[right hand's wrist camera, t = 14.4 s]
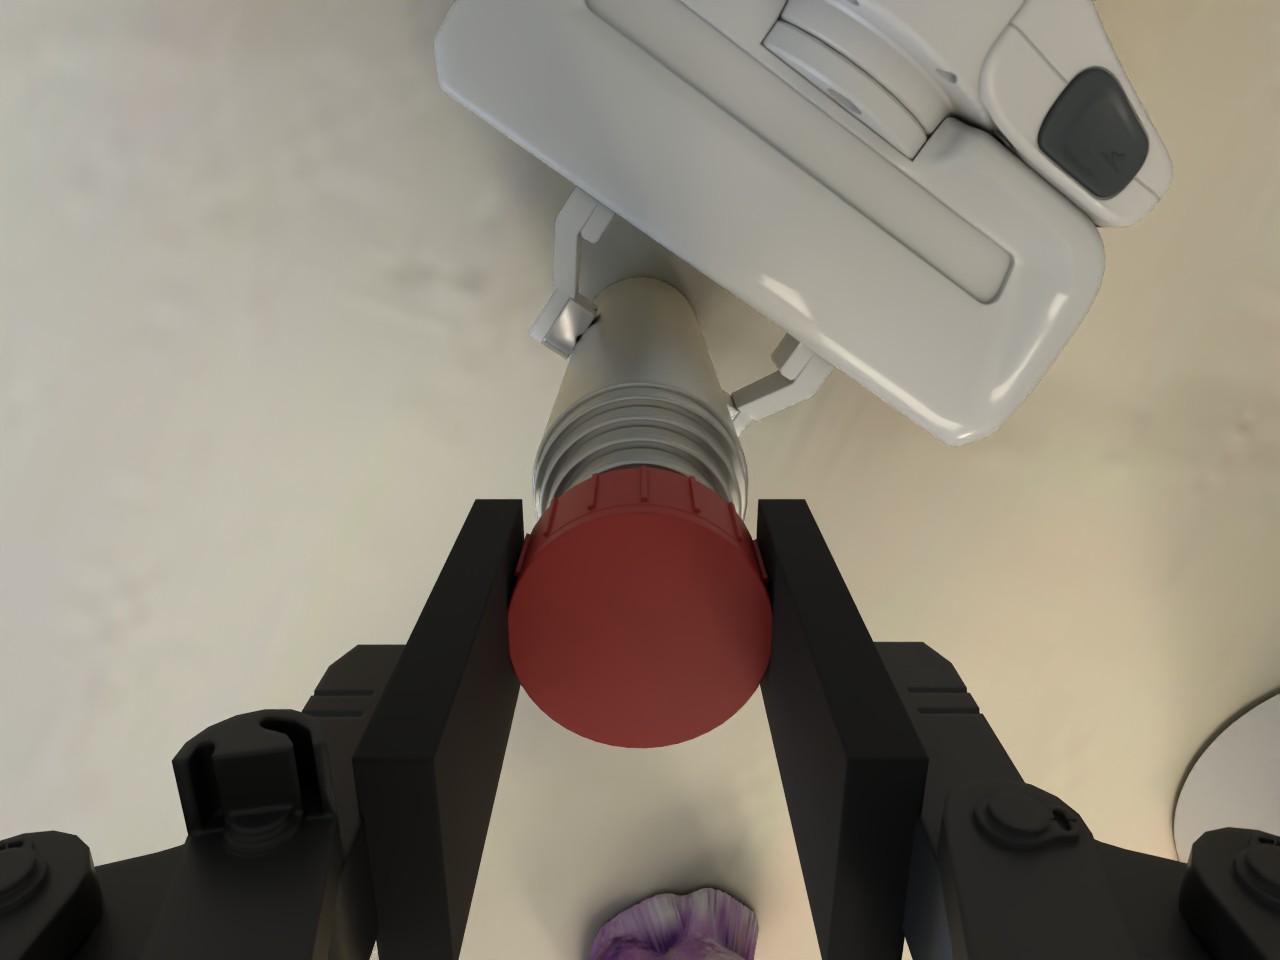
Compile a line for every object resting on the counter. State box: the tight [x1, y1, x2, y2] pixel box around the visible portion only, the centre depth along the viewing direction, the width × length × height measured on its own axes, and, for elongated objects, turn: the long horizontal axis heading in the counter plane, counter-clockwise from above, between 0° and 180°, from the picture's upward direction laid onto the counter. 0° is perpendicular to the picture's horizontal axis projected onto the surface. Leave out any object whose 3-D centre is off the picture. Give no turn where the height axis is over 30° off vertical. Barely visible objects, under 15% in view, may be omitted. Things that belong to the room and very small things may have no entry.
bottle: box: [533, 277, 748, 522], centre depth 24 cm, size 5×5×22 cm
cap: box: [508, 466, 773, 748], centre depth 14 cm, size 4×4×2 cm
